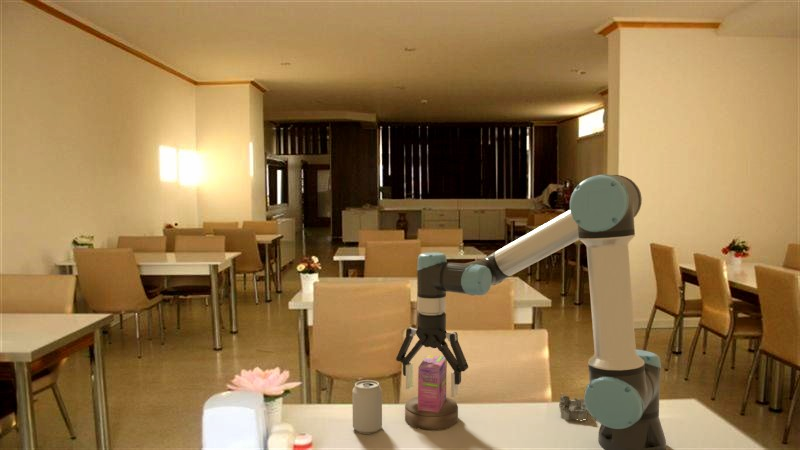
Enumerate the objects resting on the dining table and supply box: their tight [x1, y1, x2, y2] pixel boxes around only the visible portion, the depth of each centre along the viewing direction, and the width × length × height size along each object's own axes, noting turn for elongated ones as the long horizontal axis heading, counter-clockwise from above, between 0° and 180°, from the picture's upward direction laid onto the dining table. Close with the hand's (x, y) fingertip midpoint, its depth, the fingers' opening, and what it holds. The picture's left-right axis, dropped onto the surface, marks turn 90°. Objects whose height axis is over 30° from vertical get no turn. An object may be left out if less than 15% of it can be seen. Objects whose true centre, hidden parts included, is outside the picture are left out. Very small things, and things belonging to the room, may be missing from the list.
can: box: [351, 379, 383, 435], centre depth 154 cm, size 8×8×12 cm
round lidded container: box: [404, 396, 459, 432], centre depth 160 cm, size 14×14×4 cm
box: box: [417, 354, 448, 413], centre depth 160 cm, size 10×6×12 cm, turn 165°
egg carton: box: [558, 392, 588, 421], centre depth 164 cm, size 11×8×4 cm
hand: (431, 391), depth 160 cm, fingers open, 12 cm apart
